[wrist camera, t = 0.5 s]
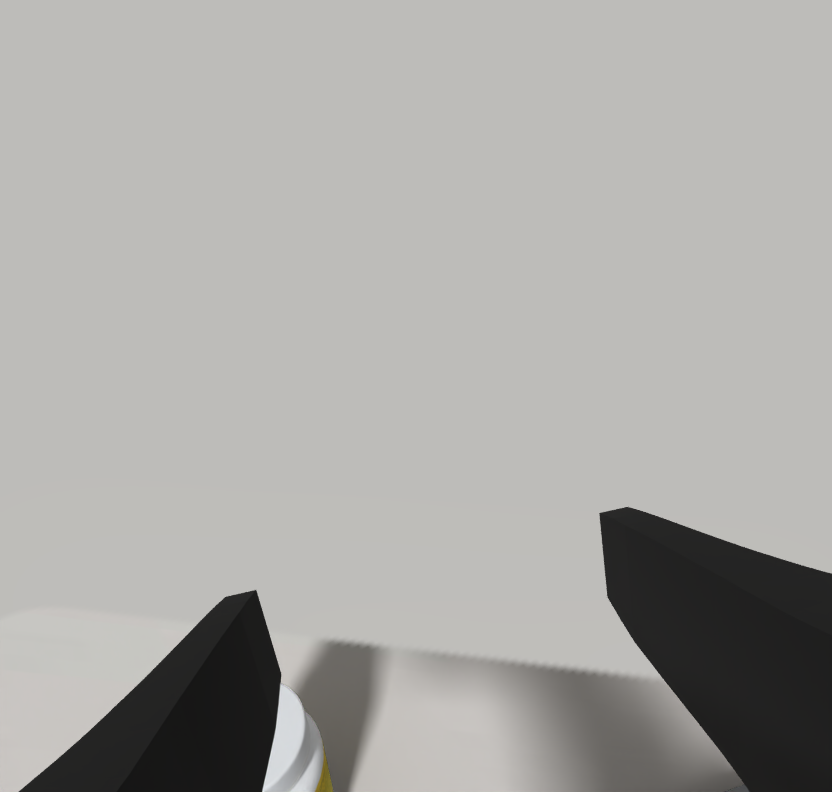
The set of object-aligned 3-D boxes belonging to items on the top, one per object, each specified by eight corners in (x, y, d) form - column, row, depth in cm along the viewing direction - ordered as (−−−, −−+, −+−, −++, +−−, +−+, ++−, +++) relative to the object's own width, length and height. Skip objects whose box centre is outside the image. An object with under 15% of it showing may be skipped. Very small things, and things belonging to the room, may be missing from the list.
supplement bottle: (320, 750, 24) (299, 650, 20) (352, 860, 21) (335, 764, 17) (222, 803, 22) (177, 704, 18) (238, 934, 19) (187, 847, 15)
